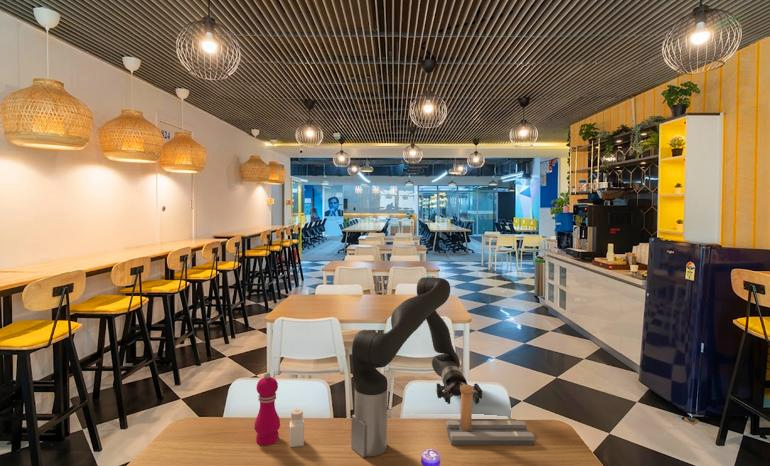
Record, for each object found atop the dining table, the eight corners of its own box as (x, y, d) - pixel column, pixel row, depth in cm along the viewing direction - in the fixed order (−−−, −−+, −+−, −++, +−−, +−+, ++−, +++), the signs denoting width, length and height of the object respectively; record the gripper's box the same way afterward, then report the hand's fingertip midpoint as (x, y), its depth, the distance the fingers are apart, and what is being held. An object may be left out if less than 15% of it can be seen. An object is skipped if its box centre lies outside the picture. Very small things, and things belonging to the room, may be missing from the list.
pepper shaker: (303, 447, 122) (303, 414, 121) (289, 448, 121) (289, 415, 121) (304, 439, 126) (304, 407, 125) (290, 440, 125) (290, 408, 125)
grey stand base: (451, 445, 124) (451, 435, 124) (446, 429, 133) (446, 420, 133) (534, 445, 124) (534, 436, 124) (523, 429, 133) (523, 420, 133)
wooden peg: (460, 435, 126) (461, 390, 125) (457, 428, 130) (458, 384, 129) (473, 435, 126) (475, 390, 125) (470, 428, 130) (472, 384, 129)
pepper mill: (285, 439, 126) (285, 372, 124) (263, 449, 120) (262, 379, 119) (271, 430, 131) (271, 366, 129) (249, 439, 125) (249, 372, 124)
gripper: (433, 369, 148) (440, 389, 132) (474, 369, 148) (486, 389, 132) (432, 390, 148) (439, 412, 132) (473, 390, 149) (485, 413, 133)
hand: (463, 401), depth 132 cm, fingers open, 8 cm apart
